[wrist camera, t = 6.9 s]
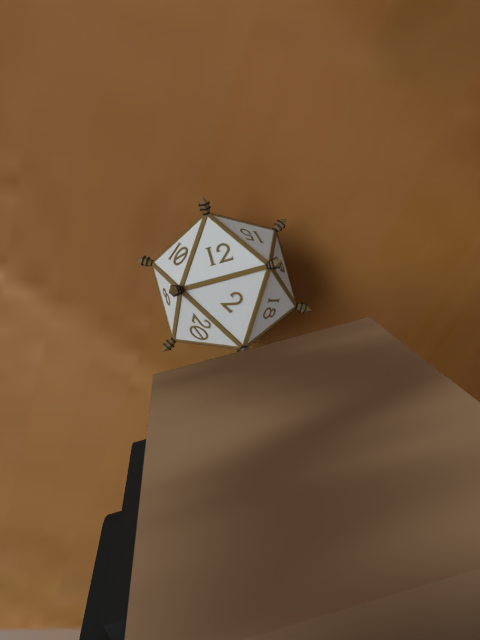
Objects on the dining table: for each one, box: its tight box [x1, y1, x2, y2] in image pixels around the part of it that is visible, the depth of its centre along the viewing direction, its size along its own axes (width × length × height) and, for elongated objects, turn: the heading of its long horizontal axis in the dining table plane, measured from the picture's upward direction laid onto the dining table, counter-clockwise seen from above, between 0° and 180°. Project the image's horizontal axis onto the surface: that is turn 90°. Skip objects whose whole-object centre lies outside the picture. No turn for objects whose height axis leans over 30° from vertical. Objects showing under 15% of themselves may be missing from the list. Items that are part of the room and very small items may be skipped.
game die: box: [137, 196, 312, 352], centre depth 24 cm, size 9×8×10 cm
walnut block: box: [124, 317, 480, 640], centre depth 8 cm, size 5×5×6 cm
